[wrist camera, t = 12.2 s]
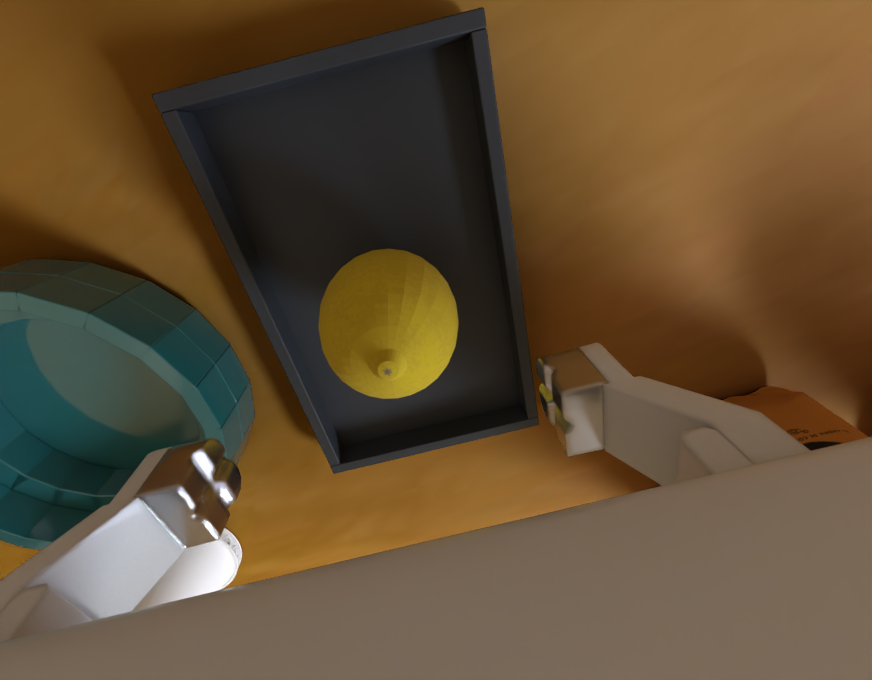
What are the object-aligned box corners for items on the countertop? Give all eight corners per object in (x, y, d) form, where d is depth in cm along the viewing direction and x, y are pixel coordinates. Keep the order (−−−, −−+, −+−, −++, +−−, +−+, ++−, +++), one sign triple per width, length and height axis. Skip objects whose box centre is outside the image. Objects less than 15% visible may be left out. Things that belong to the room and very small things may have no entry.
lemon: (313, 256, 19) (262, 329, 11) (423, 213, 18) (441, 261, 11) (363, 351, 21) (346, 459, 14) (460, 315, 21) (494, 408, 14)
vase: (166, 593, 29) (67, 791, 20) (99, 530, 26) (-57, 735, 17) (261, 567, 29) (202, 757, 20) (206, 499, 25) (104, 692, 17)
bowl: (-132, 299, 18) (-281, 345, 14) (172, 222, 18) (107, 246, 14) (73, 509, 25) (11, 580, 21) (296, 456, 25) (276, 517, 21)
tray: (177, 99, 16) (149, 94, 14) (474, 21, 16) (484, 6, 14) (338, 450, 25) (333, 474, 23) (528, 404, 24) (539, 425, 23)
